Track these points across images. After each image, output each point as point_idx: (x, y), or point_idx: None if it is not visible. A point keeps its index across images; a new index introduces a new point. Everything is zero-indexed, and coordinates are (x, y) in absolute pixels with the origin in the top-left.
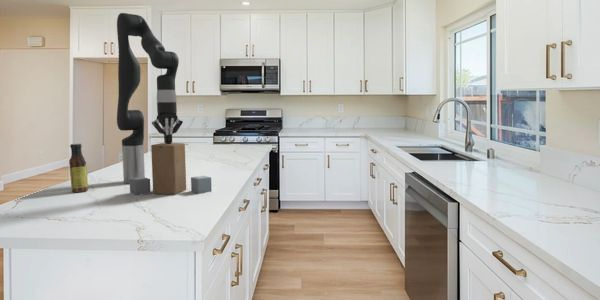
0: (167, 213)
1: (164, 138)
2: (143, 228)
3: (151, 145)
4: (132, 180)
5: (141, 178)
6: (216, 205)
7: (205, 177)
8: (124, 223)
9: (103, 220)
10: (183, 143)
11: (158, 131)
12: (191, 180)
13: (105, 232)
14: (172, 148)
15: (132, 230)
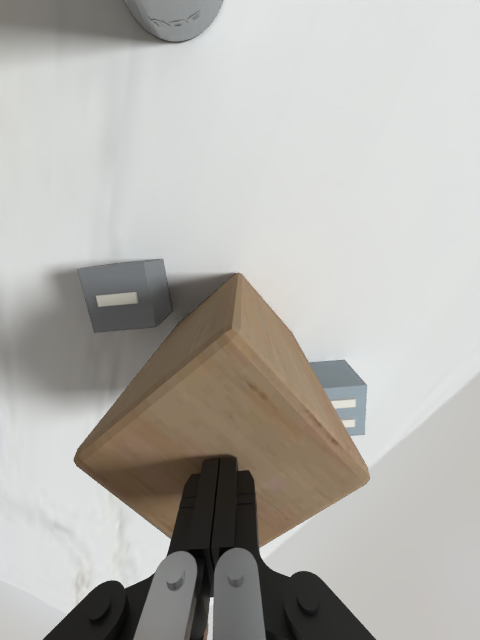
0: (150, 530)
1: (178, 522)
2: (87, 583)
3: (74, 461)
4: (87, 301)
5: (123, 304)
6: None
7: (347, 425)
8: (59, 545)
9: (21, 509)
10: (354, 490)
11: (60, 632)
12: None
13: (25, 571)
14: None
15: (69, 583)
